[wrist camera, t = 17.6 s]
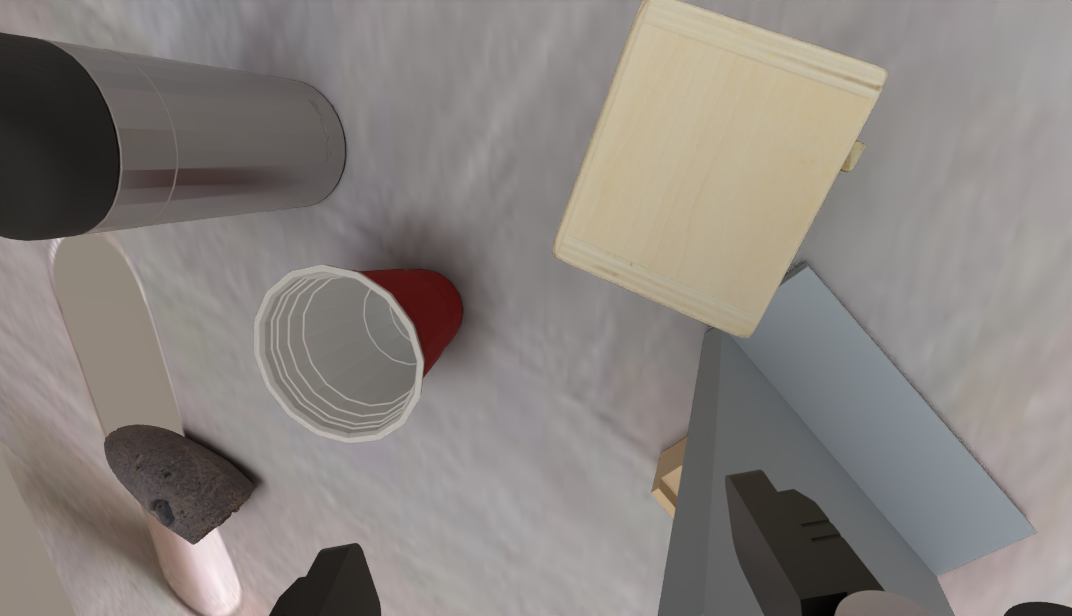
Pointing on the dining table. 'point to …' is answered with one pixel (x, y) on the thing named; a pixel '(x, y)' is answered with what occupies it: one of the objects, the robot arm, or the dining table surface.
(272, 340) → the plastic cup
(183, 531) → the perforated stone tool
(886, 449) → the wall board
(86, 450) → the dining table surface
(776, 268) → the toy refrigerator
